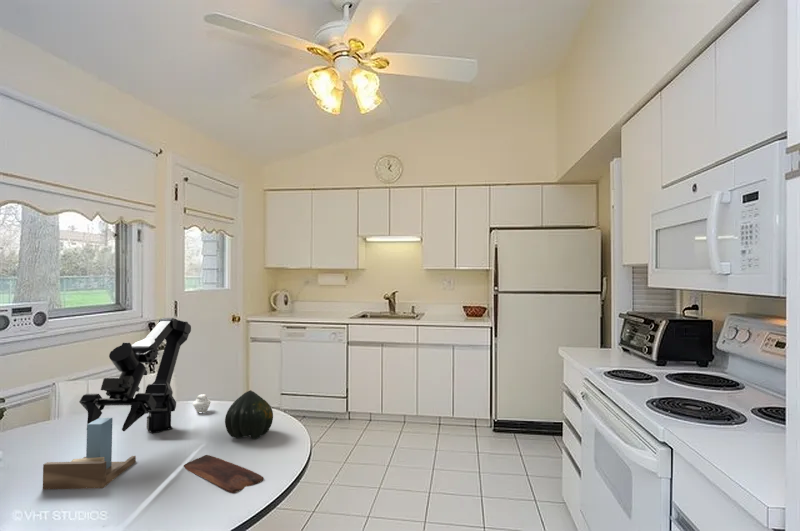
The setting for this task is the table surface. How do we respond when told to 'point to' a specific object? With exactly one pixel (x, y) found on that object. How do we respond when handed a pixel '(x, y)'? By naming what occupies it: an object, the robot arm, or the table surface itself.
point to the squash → (249, 416)
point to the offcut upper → (88, 459)
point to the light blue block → (100, 440)
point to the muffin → (201, 403)
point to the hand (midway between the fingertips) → (105, 430)
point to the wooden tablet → (223, 473)
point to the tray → (82, 474)
